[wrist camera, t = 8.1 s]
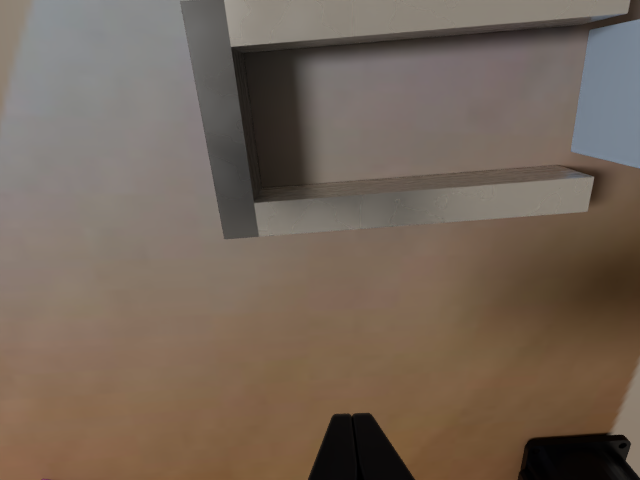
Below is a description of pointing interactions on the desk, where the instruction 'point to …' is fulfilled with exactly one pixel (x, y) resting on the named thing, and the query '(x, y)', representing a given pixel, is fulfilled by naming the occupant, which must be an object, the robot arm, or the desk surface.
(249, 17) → the white u-shaped frame
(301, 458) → the desk surface
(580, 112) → the block
